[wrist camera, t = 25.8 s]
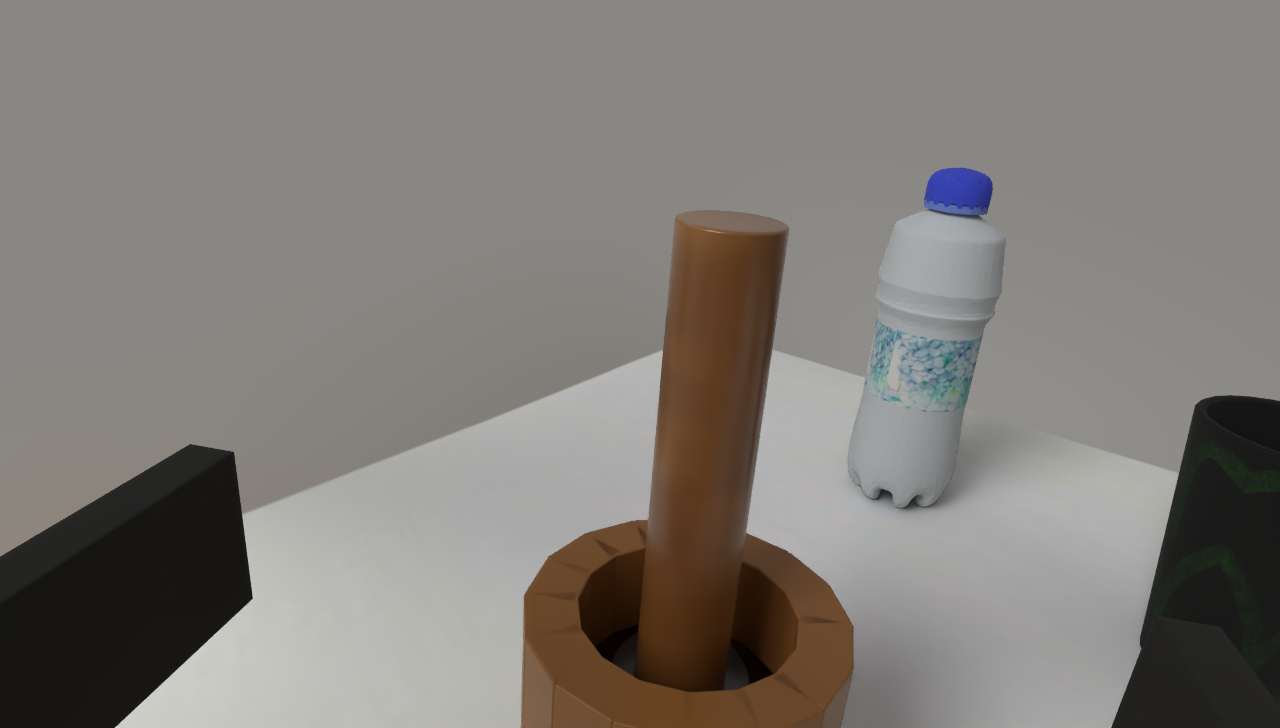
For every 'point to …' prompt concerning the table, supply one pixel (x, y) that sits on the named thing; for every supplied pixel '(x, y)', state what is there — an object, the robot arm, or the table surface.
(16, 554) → the robot arm
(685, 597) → the wooden handled pestle
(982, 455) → the table surface
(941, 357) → the bottle
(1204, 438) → the cup
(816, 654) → the wooden hollow tube
